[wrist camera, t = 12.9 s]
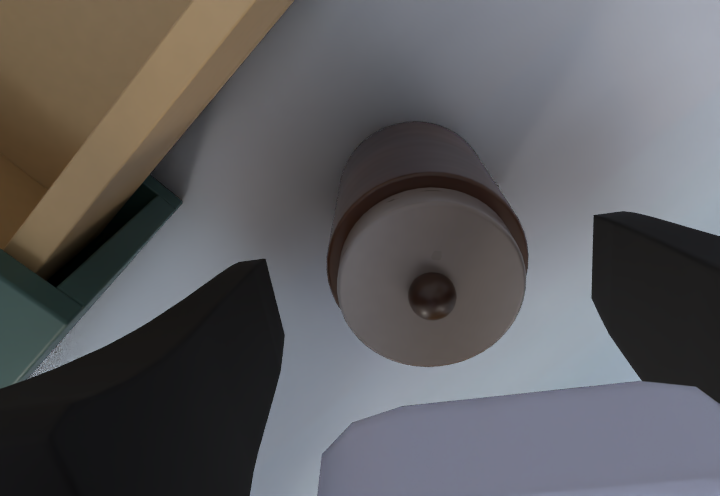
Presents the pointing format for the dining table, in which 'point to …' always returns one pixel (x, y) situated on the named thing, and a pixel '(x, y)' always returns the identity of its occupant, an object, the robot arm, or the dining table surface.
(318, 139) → the dining table surface
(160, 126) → the drawer
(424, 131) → the pepper mill
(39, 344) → the cabinet
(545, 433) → the robot arm
